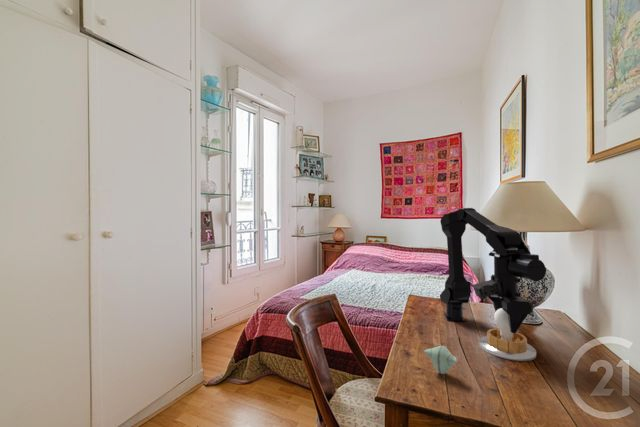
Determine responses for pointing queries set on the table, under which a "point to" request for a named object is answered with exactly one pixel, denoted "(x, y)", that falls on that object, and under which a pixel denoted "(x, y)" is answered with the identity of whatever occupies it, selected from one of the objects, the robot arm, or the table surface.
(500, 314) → the lightbulb
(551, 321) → the table surface
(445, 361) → the robot head
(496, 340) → the wooden ring on plate
